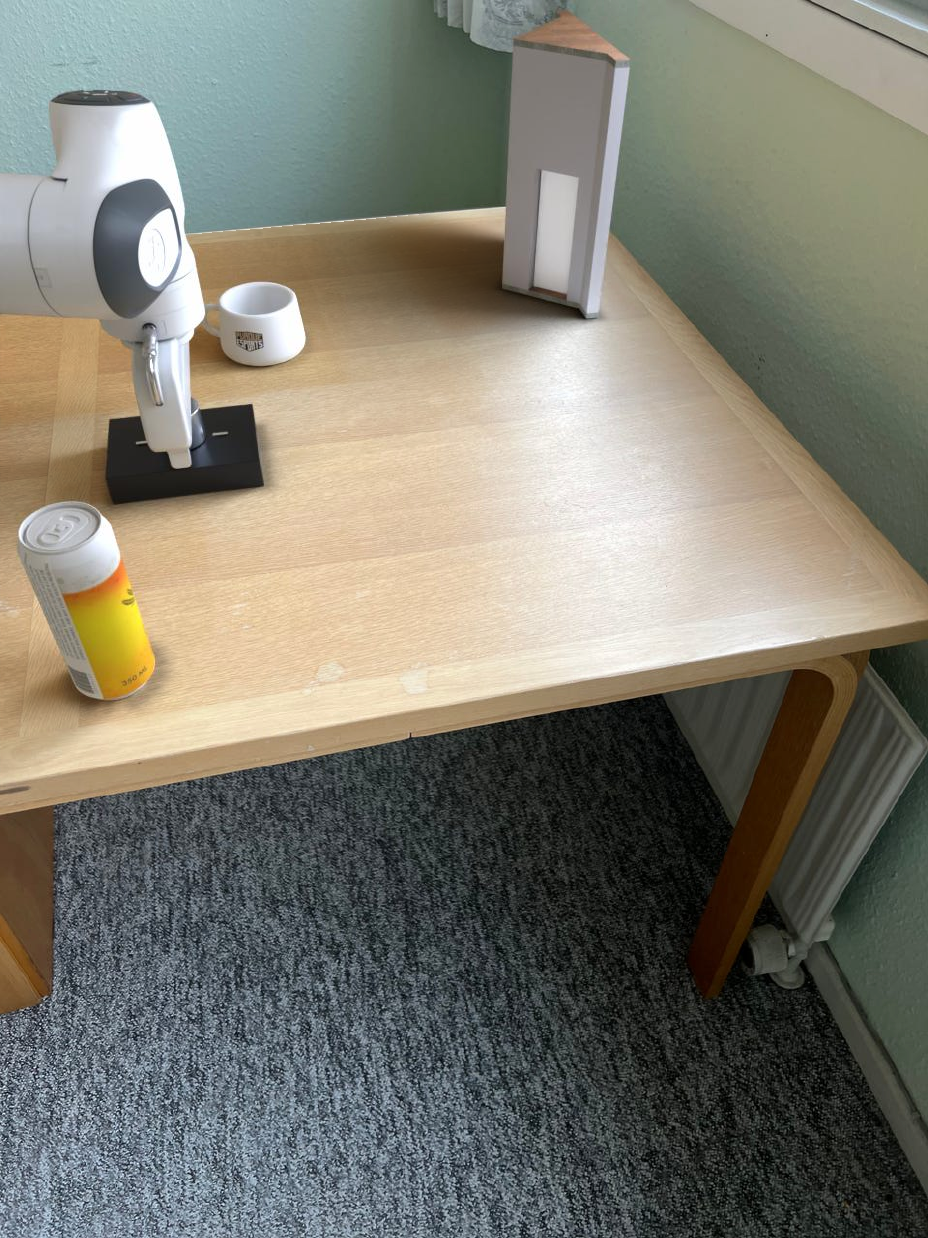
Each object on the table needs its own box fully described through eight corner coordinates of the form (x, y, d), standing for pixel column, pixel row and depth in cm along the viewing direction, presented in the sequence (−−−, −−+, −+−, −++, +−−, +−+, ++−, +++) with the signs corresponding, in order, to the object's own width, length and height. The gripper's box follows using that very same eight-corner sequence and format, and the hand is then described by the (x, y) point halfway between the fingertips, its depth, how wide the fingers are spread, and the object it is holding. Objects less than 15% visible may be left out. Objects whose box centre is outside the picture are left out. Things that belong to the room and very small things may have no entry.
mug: (315, 330, 110) (309, 282, 106) (294, 372, 103) (288, 322, 99) (217, 322, 111) (208, 274, 107) (191, 363, 104) (180, 313, 100)
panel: (113, 504, 86) (104, 477, 84) (116, 444, 93) (108, 417, 91) (264, 485, 89) (259, 458, 86) (256, 428, 96) (252, 401, 93)
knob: (208, 447, 88) (200, 413, 85) (160, 455, 87) (151, 420, 84) (203, 422, 91) (195, 388, 88) (157, 429, 90) (148, 395, 87)
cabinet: (598, 317, 114) (630, 59, 94) (523, 324, 112) (539, 64, 92) (548, 246, 128) (567, 10, 108) (481, 252, 126) (488, 13, 106)
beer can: (172, 658, 73) (126, 508, 62) (128, 715, 69) (71, 565, 58) (106, 639, 74) (50, 489, 63) (59, 693, 70) (-9, 543, 59)
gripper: (188, 356, 72) (219, 497, 82) (185, 246, 86) (212, 378, 96) (105, 364, 71) (146, 506, 81) (115, 252, 85) (149, 384, 95)
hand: (181, 435), depth 89 cm, fingers open, 8 cm apart
